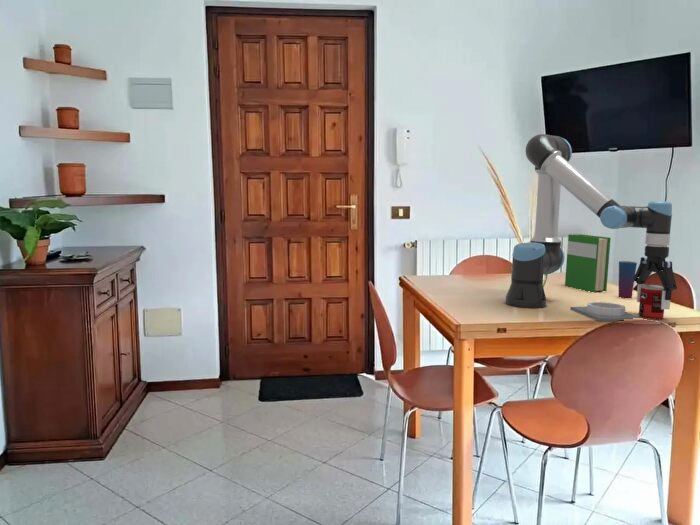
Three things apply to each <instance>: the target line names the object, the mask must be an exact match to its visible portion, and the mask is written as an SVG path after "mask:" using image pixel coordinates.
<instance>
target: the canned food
mask: <svg viewBox="0 0 700 525" xmlns="http://www.w3.org/2000/svg"><path fill="white" fill-rule="evenodd" d="M663 289H664V287H663V285H658V284H657V285H655V284H646V285H641V293H640V302H639V306H638V307H639V309H638V316H639V317H642V318H644V319H648V318H650V319H649V320H661V319H663V318H664V316H665V309H661V302H662V290H663Z"/></svg>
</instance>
